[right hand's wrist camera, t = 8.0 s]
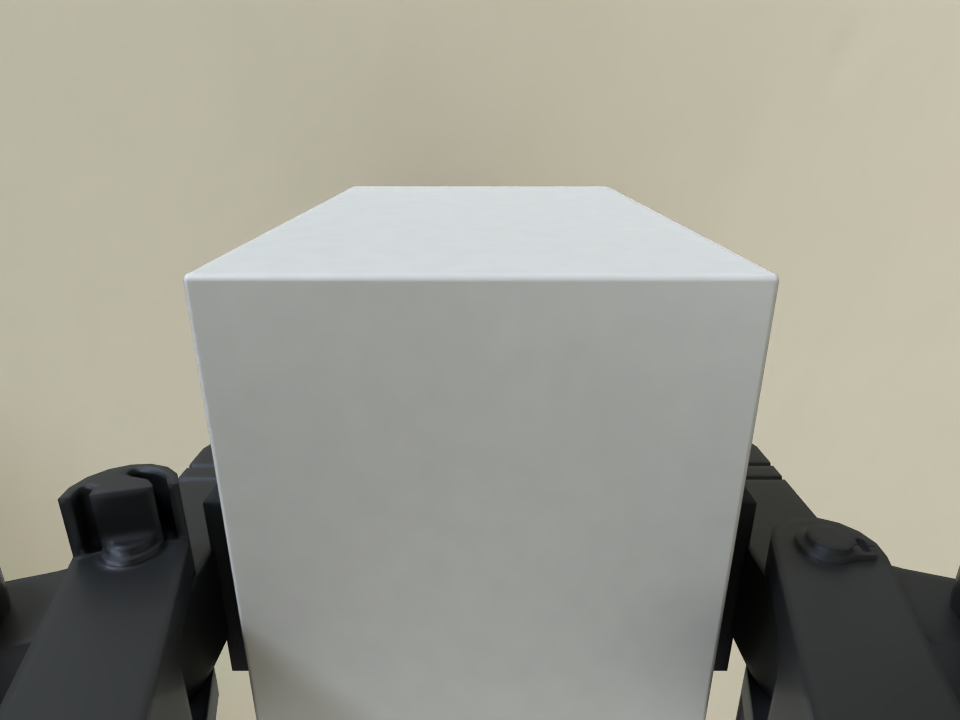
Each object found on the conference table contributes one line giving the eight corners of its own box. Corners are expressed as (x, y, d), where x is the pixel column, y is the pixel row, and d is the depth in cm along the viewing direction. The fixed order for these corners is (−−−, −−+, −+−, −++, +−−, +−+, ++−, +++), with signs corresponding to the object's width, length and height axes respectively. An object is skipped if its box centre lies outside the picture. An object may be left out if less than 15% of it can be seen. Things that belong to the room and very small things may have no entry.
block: (584, 546, 16) (674, 914, 9) (376, 546, 16) (287, 913, 9) (609, 185, 13) (784, 274, 6) (351, 186, 13) (179, 275, 6)
